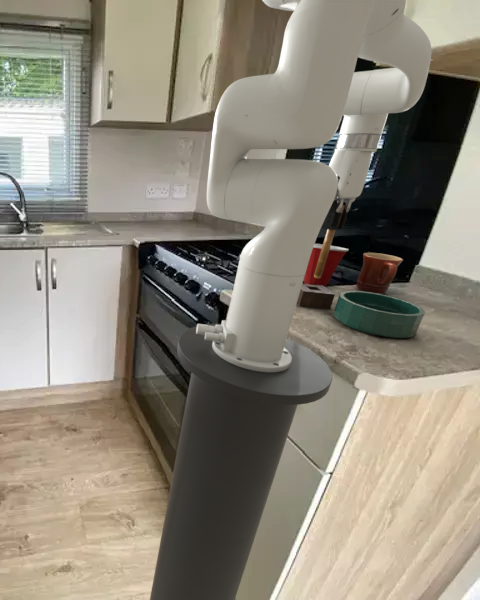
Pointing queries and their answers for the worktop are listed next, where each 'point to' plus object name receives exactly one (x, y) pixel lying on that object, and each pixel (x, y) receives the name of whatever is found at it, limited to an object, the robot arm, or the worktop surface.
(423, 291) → the worktop surface
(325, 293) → the holder
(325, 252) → the stick
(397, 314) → the bowl
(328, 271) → the plastic cup
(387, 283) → the mug
